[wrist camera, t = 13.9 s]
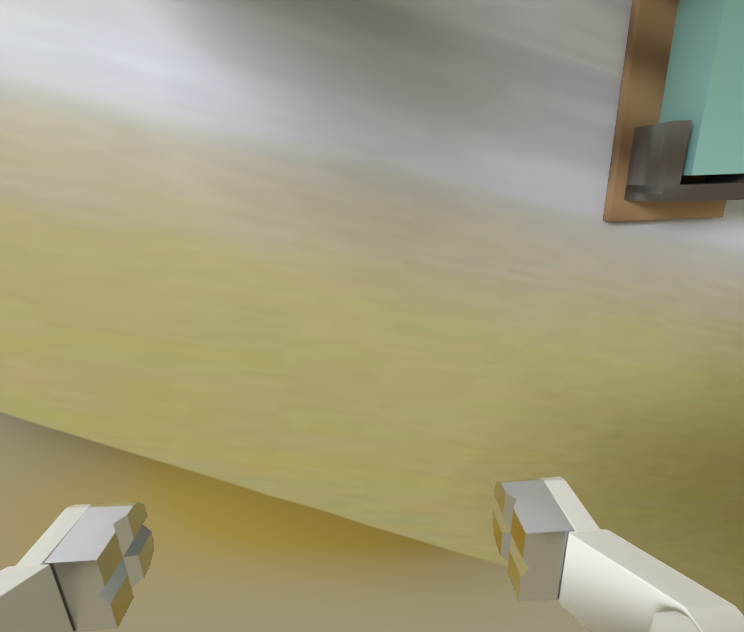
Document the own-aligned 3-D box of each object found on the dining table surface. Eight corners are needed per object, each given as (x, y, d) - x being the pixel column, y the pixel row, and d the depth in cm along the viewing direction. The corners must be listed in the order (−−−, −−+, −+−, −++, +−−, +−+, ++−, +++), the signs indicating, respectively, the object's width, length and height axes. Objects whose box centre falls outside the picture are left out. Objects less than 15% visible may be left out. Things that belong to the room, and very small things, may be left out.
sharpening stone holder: (649, -128, 30) (713, -192, 25) (787, -130, 30) (878, -194, 25) (602, 220, 37) (643, 227, 32) (713, 216, 38) (771, 222, 32)
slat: (688, -60, 30) (743, -99, 26) (742, -61, 30) (806, -100, 26) (650, 175, 35) (691, 175, 31) (697, 173, 35) (744, 173, 31)
